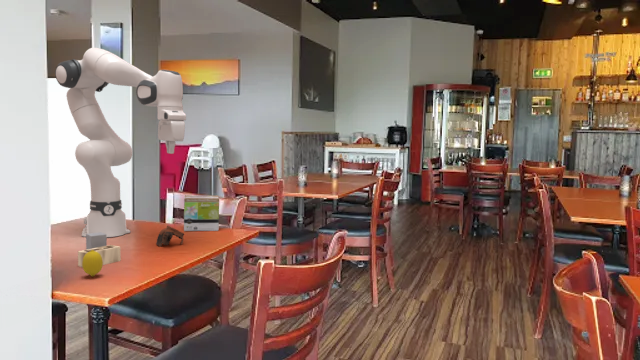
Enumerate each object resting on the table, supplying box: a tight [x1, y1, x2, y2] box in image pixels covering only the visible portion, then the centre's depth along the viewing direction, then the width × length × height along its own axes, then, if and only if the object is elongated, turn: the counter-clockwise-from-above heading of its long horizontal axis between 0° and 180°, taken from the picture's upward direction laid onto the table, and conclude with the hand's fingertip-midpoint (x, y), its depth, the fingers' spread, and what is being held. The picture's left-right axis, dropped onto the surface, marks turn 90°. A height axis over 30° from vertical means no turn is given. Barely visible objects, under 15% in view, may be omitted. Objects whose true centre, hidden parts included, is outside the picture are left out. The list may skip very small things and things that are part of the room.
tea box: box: [183, 194, 220, 232], centre depth 229 cm, size 15×10×15 cm, turn 104°
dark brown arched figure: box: [155, 225, 185, 248], centre depth 196 cm, size 12×10×8 cm
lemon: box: [81, 250, 104, 278], centre depth 153 cm, size 6×6×8 cm
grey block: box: [85, 232, 108, 250], centre depth 176 cm, size 5×5×8 cm
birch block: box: [77, 244, 121, 268], centre depth 168 cm, size 5×5×12 cm
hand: (170, 153), depth 188 cm, fingers closed
